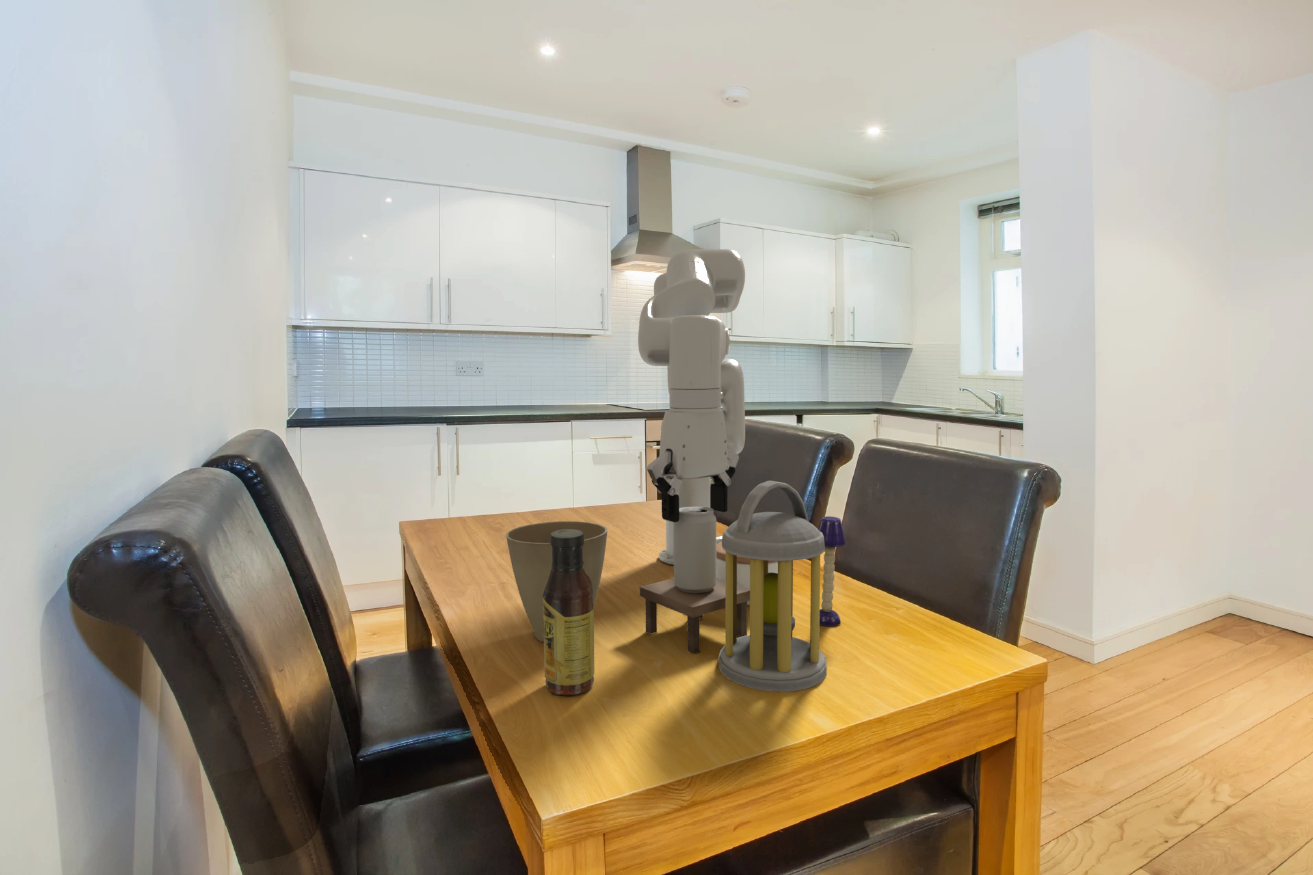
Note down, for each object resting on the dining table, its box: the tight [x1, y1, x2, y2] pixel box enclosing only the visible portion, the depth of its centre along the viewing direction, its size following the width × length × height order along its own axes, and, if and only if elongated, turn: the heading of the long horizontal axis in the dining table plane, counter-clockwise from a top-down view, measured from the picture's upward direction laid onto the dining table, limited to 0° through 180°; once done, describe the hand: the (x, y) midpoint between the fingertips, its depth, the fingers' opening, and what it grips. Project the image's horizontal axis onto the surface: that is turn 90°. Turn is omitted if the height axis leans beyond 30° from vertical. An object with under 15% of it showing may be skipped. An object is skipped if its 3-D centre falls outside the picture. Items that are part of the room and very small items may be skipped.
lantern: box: [718, 480, 828, 693], centre depth 88 cm, size 14×14×25 cm
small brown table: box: [639, 577, 750, 655], centre depth 101 cm, size 12×12×7 cm
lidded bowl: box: [716, 542, 778, 606], centre depth 117 cm, size 13×13×11 cm
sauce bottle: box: [543, 529, 595, 696], centre depth 83 cm, size 6×6×20 cm
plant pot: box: [505, 520, 608, 643], centre depth 101 cm, size 15×15×16 cm
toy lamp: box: [817, 515, 846, 627], centre depth 105 cm, size 5×5×17 cm
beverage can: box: [673, 506, 717, 593], centre depth 100 cm, size 6×6×12 cm
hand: (695, 515), depth 100 cm, fingers open, 9 cm apart
